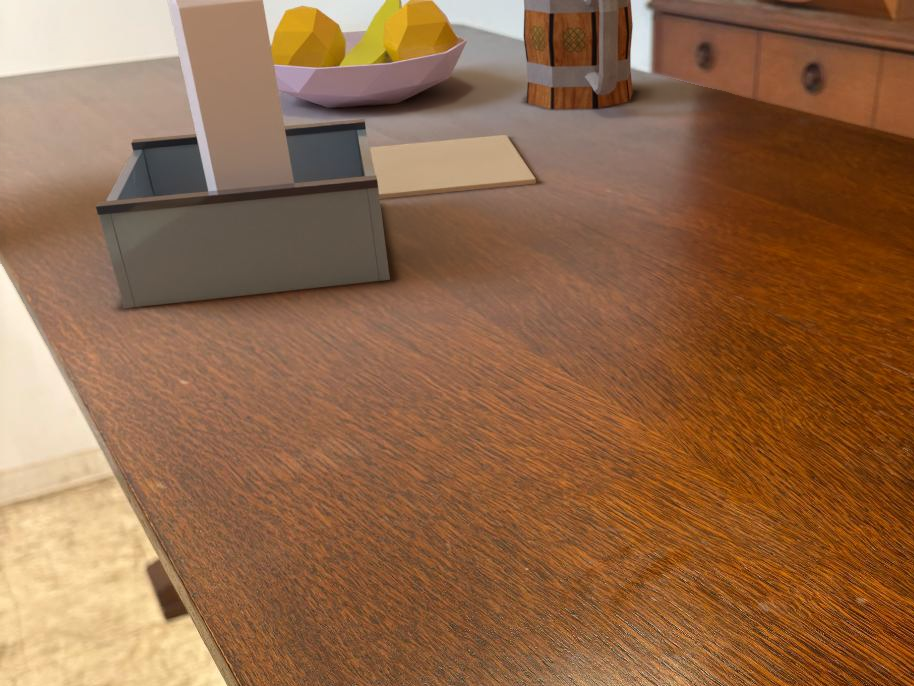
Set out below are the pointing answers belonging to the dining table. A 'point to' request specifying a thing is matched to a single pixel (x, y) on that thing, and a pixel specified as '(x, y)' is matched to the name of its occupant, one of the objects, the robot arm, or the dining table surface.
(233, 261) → the gray open box
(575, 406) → the dining table surface
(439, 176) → the mat
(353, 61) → the fruit bowl
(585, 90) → the mug
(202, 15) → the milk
